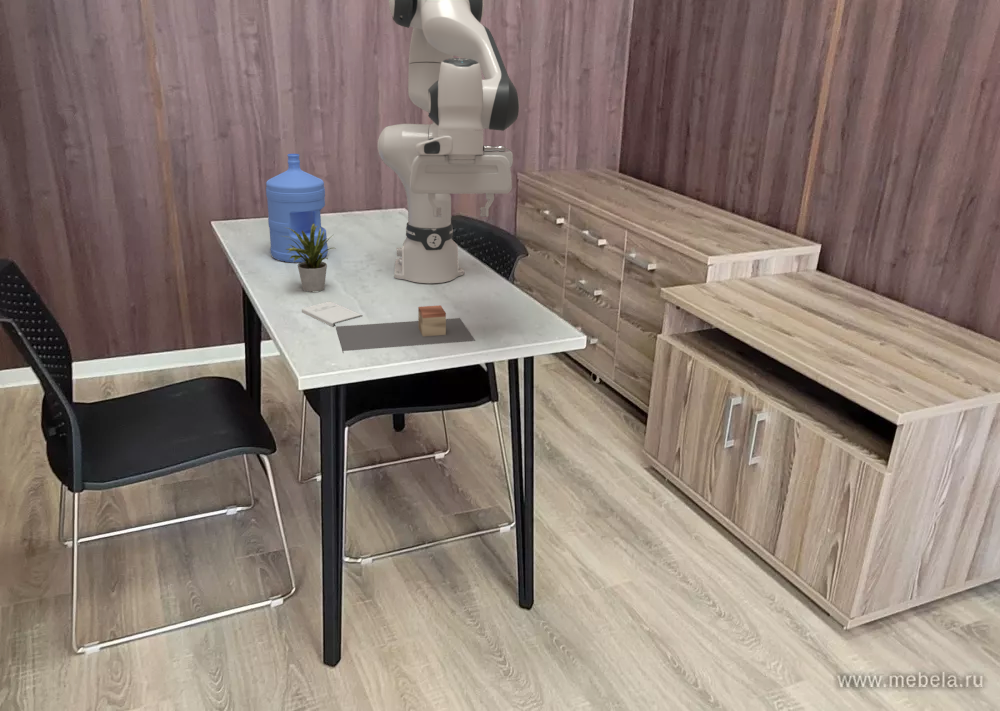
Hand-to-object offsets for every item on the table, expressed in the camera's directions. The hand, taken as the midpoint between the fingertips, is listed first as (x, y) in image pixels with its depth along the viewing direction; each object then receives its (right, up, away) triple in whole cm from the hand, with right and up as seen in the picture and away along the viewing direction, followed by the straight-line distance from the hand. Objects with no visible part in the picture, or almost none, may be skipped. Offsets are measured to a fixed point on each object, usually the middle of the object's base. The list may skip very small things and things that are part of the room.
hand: (460, 216), depth 164 cm
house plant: (-39, -11, +41) cm, 58 cm away
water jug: (-49, 0, +67) cm, 83 cm away
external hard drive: (-31, -19, +24) cm, 43 cm away
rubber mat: (-13, -24, +14) cm, 30 cm away
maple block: (-7, -23, +15) cm, 28 cm away
